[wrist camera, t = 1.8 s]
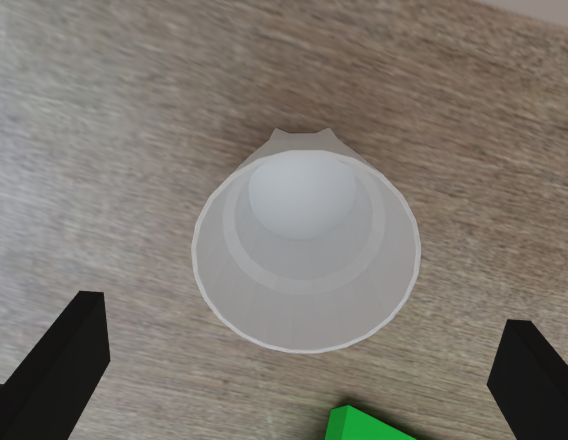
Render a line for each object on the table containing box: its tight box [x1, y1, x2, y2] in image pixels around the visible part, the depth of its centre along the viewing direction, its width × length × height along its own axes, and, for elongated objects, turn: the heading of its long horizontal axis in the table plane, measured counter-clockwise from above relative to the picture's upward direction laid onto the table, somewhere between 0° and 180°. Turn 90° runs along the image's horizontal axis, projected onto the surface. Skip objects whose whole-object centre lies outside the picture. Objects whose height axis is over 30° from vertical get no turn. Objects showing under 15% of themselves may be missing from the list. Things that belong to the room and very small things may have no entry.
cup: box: [191, 127, 421, 353], centre depth 24 cm, size 10×10×10 cm
